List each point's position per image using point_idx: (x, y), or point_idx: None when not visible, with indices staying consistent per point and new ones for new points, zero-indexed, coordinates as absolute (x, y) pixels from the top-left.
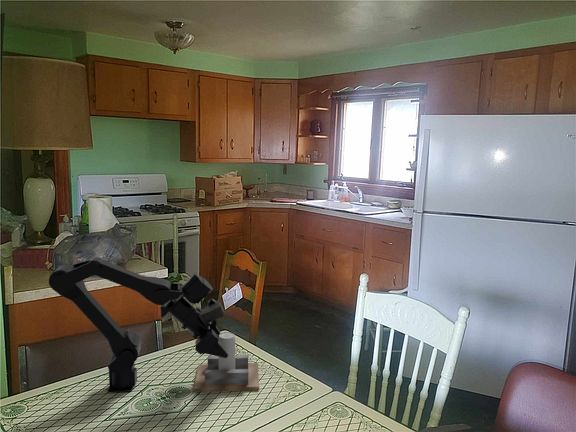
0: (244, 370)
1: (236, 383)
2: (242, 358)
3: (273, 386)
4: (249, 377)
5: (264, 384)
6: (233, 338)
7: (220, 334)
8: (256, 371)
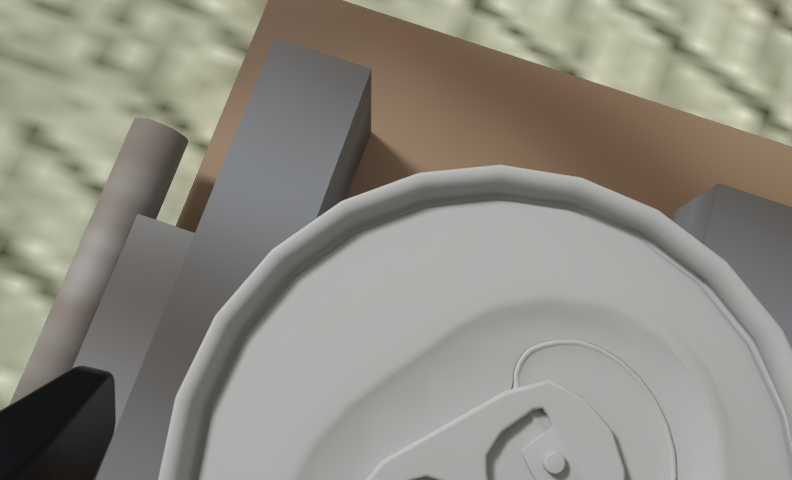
0: (742, 249)
1: None
2: (341, 151)
3: (763, 9)
4: None
5: (697, 76)
6: (707, 287)
7: None
8: (468, 63)
